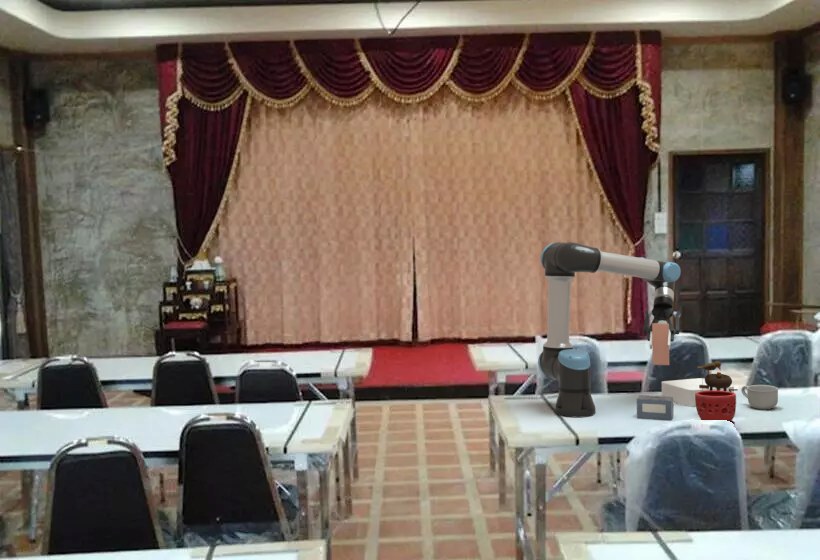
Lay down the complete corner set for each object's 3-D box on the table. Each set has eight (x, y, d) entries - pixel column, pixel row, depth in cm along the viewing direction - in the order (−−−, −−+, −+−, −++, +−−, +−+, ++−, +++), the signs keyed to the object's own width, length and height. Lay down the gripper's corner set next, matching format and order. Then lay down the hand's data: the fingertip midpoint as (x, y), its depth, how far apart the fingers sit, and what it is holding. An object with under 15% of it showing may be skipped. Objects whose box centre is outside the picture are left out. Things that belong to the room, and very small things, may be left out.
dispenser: (636, 418, 284) (636, 398, 284) (639, 413, 292) (639, 394, 291) (671, 420, 279) (671, 400, 279) (673, 415, 287) (673, 395, 287)
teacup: (784, 409, 293) (784, 388, 292) (762, 412, 289) (762, 390, 288) (755, 402, 306) (755, 382, 305) (734, 405, 302) (734, 384, 301)
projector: (740, 403, 306) (740, 386, 306) (690, 408, 300) (690, 390, 300) (706, 394, 326) (705, 377, 326) (659, 398, 320) (659, 381, 320)
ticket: (652, 364, 304) (652, 323, 303) (653, 363, 305) (652, 323, 304) (668, 365, 301) (668, 324, 301) (669, 364, 303) (668, 323, 302)
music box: (703, 418, 282) (703, 363, 281) (691, 411, 293) (691, 358, 292) (745, 416, 282) (744, 361, 281) (731, 410, 293) (731, 357, 292)
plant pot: (740, 425, 269) (740, 391, 269) (730, 433, 259) (730, 397, 258) (701, 421, 277) (701, 387, 277) (690, 428, 267) (690, 394, 266)
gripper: (689, 307, 313) (686, 353, 298) (640, 307, 320) (635, 352, 306) (688, 295, 307) (685, 341, 293) (638, 295, 315) (633, 340, 301)
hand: (659, 346), depth 300 cm, fingers closed on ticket, 6 cm apart
